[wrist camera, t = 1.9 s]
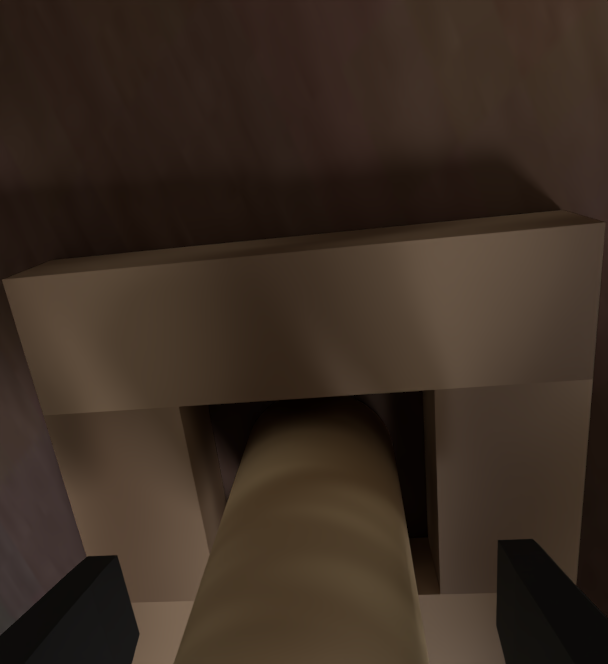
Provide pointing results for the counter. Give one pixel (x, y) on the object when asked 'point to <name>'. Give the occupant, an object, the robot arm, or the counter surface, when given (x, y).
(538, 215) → the socket block
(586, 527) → the counter surface
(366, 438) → the dowel
